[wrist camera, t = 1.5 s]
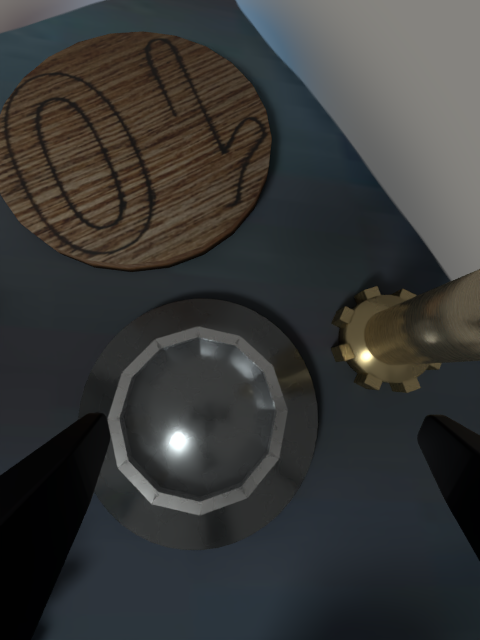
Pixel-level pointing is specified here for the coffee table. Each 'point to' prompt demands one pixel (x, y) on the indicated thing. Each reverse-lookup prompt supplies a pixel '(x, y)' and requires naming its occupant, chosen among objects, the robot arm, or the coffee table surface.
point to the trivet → (134, 151)
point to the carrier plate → (201, 423)
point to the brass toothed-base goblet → (409, 332)
